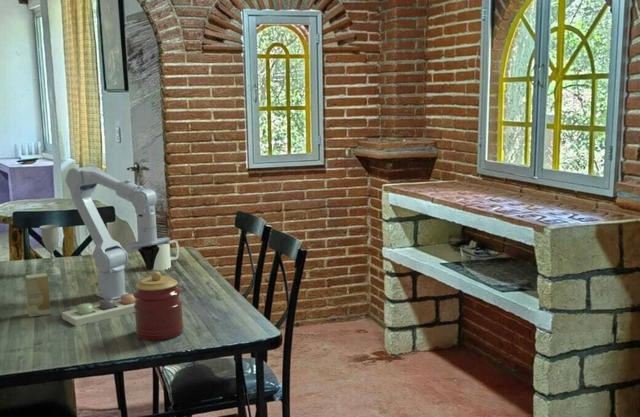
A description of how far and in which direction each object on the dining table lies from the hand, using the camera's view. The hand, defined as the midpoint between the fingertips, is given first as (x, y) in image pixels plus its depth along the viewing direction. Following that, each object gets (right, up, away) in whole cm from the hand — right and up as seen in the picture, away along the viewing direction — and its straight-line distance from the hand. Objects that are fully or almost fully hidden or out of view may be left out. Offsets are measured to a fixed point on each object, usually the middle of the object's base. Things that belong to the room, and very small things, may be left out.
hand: (150, 269), depth 226 cm
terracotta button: (-5, -11, -6) cm, 13 cm away
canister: (+10, -15, -29) cm, 35 cm away
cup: (-5, -3, +46) cm, 47 cm away
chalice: (-46, -5, +41) cm, 62 cm away
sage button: (-16, -13, -15) cm, 25 cm away
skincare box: (-32, -13, -9) cm, 35 cm away
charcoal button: (-10, -12, -10) cm, 19 cm away
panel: (-10, -13, -10) cm, 19 cm away
